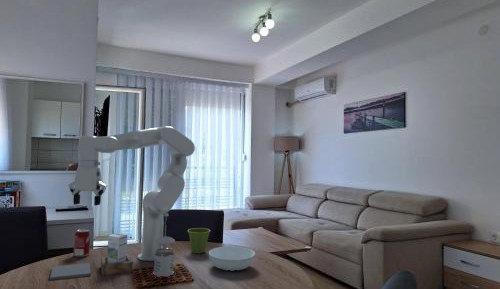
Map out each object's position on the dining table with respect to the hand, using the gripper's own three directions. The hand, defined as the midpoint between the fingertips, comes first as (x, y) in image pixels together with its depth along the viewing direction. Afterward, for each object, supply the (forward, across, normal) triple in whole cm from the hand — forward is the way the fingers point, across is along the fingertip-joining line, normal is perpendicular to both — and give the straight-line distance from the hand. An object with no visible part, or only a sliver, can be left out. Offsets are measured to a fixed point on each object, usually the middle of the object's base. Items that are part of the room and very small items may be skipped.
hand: (86, 204), depth 142 cm
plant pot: (+28, -38, -38) cm, 61 cm away
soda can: (+27, +13, -16) cm, 34 cm away
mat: (+27, +2, +6) cm, 27 cm away
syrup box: (+27, -13, -2) cm, 30 cm away
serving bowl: (+29, -60, -19) cm, 69 cm away
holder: (+27, -13, -3) cm, 30 cm away
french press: (+28, -34, -3) cm, 44 cm away
